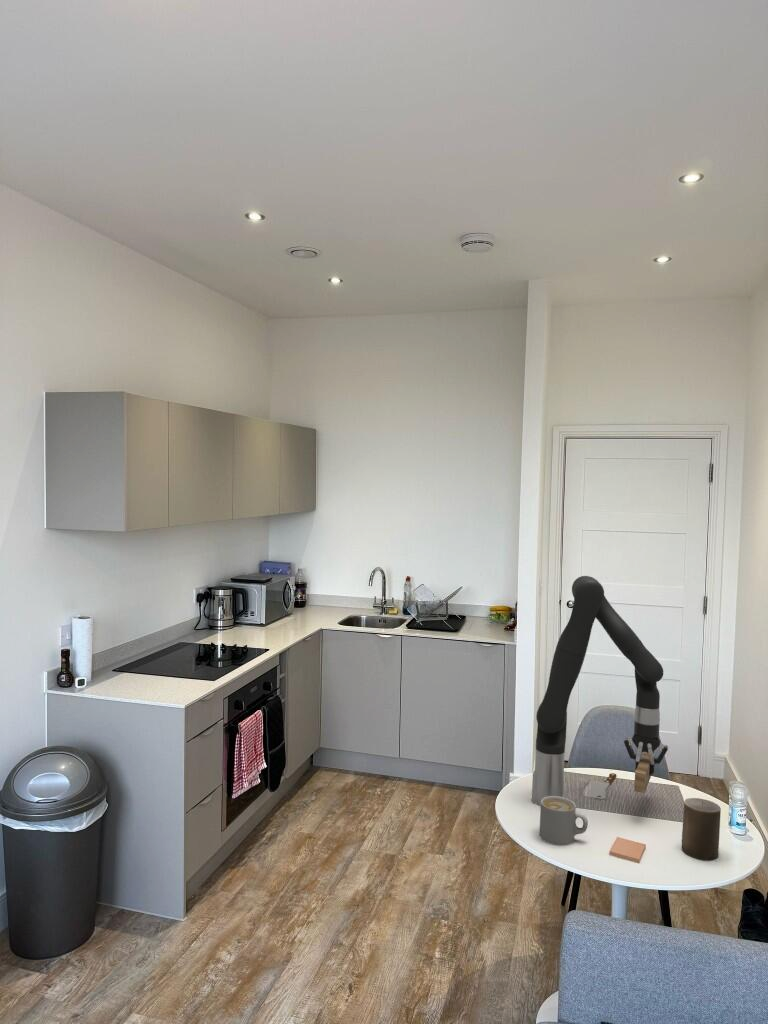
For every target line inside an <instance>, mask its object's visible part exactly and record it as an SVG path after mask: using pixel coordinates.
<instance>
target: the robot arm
mask: <svg viewBox="0 0 768 1024" xmlns="http://www.w3.org/2000/svg"><path fill="white" fill-rule="evenodd" d="M571 593H572V596H573V599H574V600H573V605H572V609H571V614H570V617H569V619H568V622H567V624H566V626H565V627H564V629H563V631H562V633H561V634H560V637H559V639H558V641H557V643H556V646H555V650H554V654H553V656H552V657H553V658H552V662H551V667H550V670H549V671H550V672H549V677H548V684H547V687H546V688H547V689H546V691H545V694H544V696H543V698H542V701H541V703H540V704H539V706H538V709H537V711H536V716H535V717H536V722H537V729H536V730H537V733H536V740H535V758H534V760H535V761H534V762H535V763H534V771H533V773H532V786H531V787H532V788H531V802H532V803H535V804H537V805H538V806H540V807H541V800H542V799H543V798H544V797H548V796H559V797H564V778H565V777H564V776H565V756H566V755H565V754H566V742H567V724H568V723H567V722H568V720H567V719H568V711H567V710H568V705H569V700H570V697H571V693H572V691H573V689H574V687H575V685H576V682H577V681H578V677H579V675H580V672H581V670H582V668H583V664H584V661H585V657H586V654H587V651H588V646H589V643H590V638H591V634H592V629H593V626H594V623H595V620H597V621H598V622H599V624H600V625H601V627H602V628H603V629H604V631H605V633H607V636H609V638H610V639H611V641H612V642H613V643H614V645H615V646H616V647H617V648H618V650H619V651H620V652H621V653H622V655H623V656H624V657H625V658H626V659H628V660H629V661H630V663H631V665H633V667H634V678H635V688H636V693H635V694H636V695H635V696H636V697H635V709H634V724H633V728H634V729H633V736H632V737H630V738H627V737H626V738H625V739H624V741H623V743H624V746H625V748H626V751H627V753H628V755H629V758H630V759H633V760H634V761H635V769H634V770H636V769H637V766H638V764H639V762H640V760H641V757H642V755H643V753H644V752H647V753H649V758H650V768H649V775H650V776H651V777H652V775H654V773H655V765H657V764H658V765H660V764H661V762H662V760H663V758H665V755H666V754H667V752H668V750H669V746H668V745H667V744H663V743H662V742H661V740H660V724H661V723H660V722H661V716H660V715H661V712H660V703H661V702H660V699H661V698H660V691H659V688H658V687H657V683H659V681H661V680H662V679H663V677H664V667H663V665H662V663H660V662H659V661H658V659H657V658H656V657H655V656H654V655H653V654H652V653H651V652H650V651H649V650H648V649H647V648H646V646H645V645H644V643H643V642H642V641H641V638H639V637H638V635H637V634H636V633H635V631H634V630H633V629H632V628H631V627H630V626H629V624H628V623H627V622H626V621H625V620H624V619H623V618H622V616H621V615H620V614H619V613H618V612H617V611H616V610H615V609H614V608H613V606H612V604H610V602H609V601H608V599H607V598H606V596H605V590H604V587H603V585H602V584H601V582H599V581H598V579H596V578H594V577H592V576H589V575H582V576H581V575H580V576H578V577H577V578H576V579H575V580H574V581H573V583H572V586H571ZM633 744H634V745H635V748H637V751H636V753H635V751H634V749H633V747H632V745H633ZM658 748H659V751H660V753H659V755H658V757H655V753H654V751H656V750H657V749H658Z"/></svg>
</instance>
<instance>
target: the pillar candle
mask: <svg viewBox="0 0 768 1024" xmlns="http://www.w3.org/2000/svg"><path fill="white" fill-rule="evenodd" d="M721 812H722V809H721V806H720V805H719V804H717V803H715V802H714V801H712V800H709V799H704V798H700V797H699V798H698V797H688V798H685V799H684V803H683V816H682V817H683V818H682V820H683V821H682V829H681V830H682V831H681V849H682V851H683V853H685V854H686V855H688V856H690V857H692V858H695V859H697V860H701V861H702V860H703V861H704V860H705V861H714V860H717V859H718V857H719V847H720V830H721V829H720V828H721Z"/></svg>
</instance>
